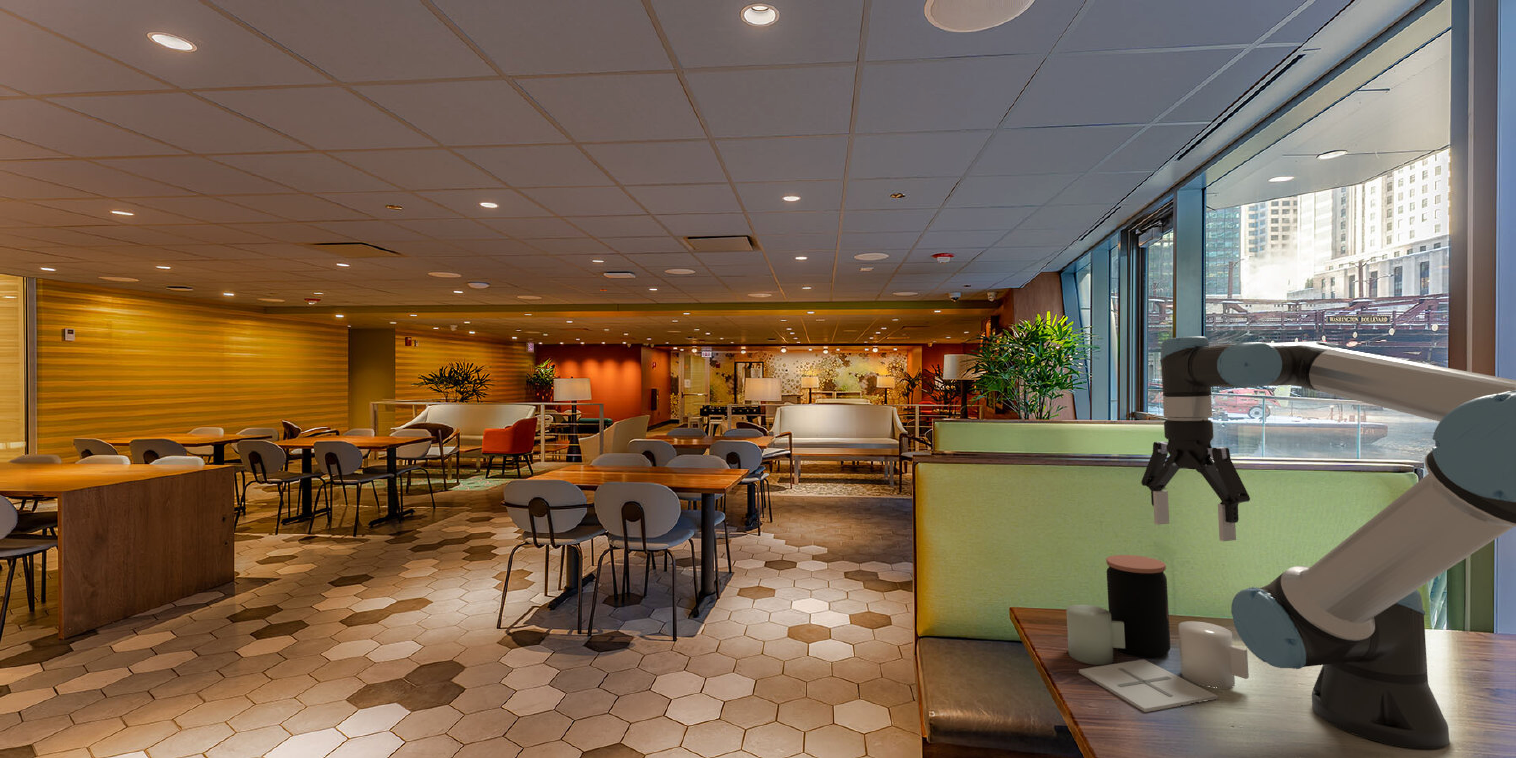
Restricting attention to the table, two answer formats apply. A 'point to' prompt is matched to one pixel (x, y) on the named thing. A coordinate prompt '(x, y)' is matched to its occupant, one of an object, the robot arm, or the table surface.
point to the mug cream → (1210, 655)
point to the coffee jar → (1140, 603)
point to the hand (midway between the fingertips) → (1192, 531)
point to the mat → (1146, 685)
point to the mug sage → (1093, 634)
